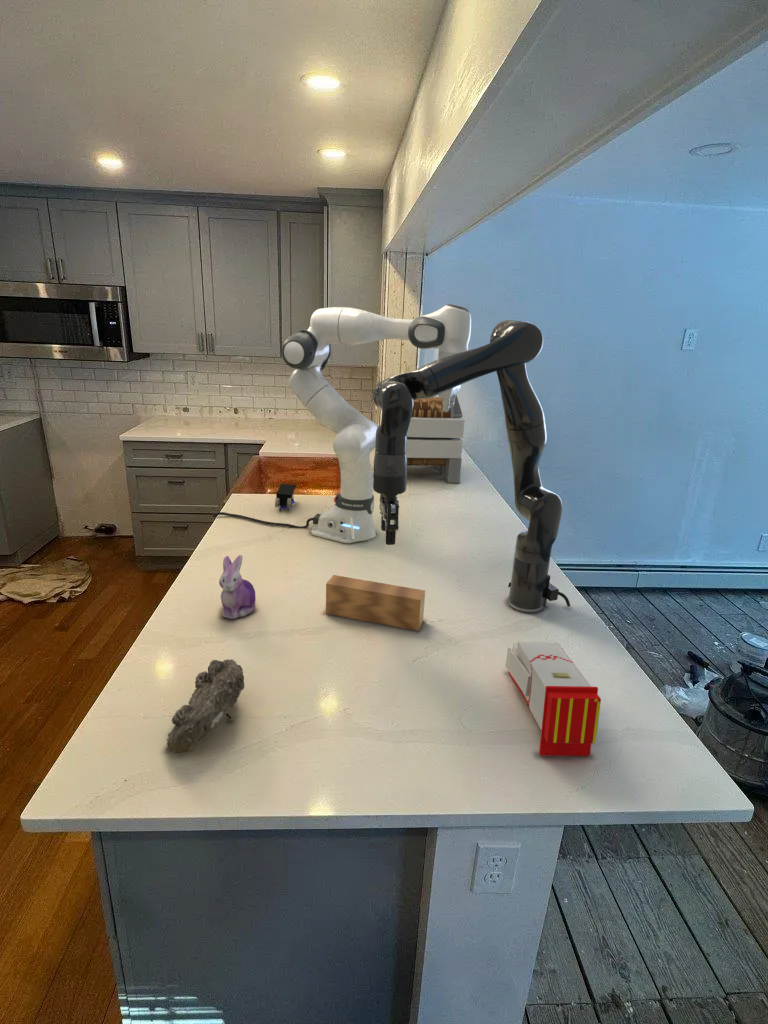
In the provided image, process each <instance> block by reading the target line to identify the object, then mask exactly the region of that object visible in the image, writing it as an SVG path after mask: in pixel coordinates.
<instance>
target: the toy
mask: <svg viewBox="0 0 768 1024" xmlns="http://www.w3.org/2000/svg"><path fill="white" fill-rule="evenodd" d="M511 646H512V647H508V648H507V653H506V658H505V659H506V660H505V668H506V669H507V671H508V675H509V676H510V677H511V679H512V681H513V682H514V684H515V686H516V688H517V689H518V691H519V693H520V694H521V696H522V698H523V700H524V702H525V703H526V705H527V706H528V708H529V710H530V712H531V715H532V716H533V718H534V720H535V722H536V723H537V724H536V725H537V726H538V727H539V730H540V731H541V733H540V739H539V740H540V741H539V749H538V751H539V752H538V754H539V756H543V757H548V756H550V757H551V756H552V757H553V756H554V757H568V756H569V757H591V751H592V744H596V743H597V734H598V726H599V717H600V710H601V702H602V698H601V697H600V696H599V694H598V693H599V688H598V686H592V684H590V682H589V681H588V680H587V678H586V677H585V676H584V675H583V673H582V672H581V671H580V669H579V668H578V667H577V665H576V664H575V663H574V661H573V660H572V659H571V658H570V656H569V655H568V654H567V652H566V651H565V649H564V647H562V645H561V644H560V643H559V642H553V641H551V642H549V641H548V642H547V641H546V642H545V641H517V642H512V645H511Z"/></svg>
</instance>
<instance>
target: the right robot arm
mask: <svg viewBox="0 0 768 1024" xmlns="http://www.w3.org/2000/svg"><path fill="white" fill-rule="evenodd" d="M543 345H544V336H543V332H542V331H541V328H539V327H538V326H537V325H536V324H534V323H532V322H529V321H526V320H513V319H506V320H501V321H500V322H498V323H497V324H496V325H495V326H494V327H493V329H492V331H491V334H490V337H489V343H487V344H484V345H482V346H479V347H476V348H472V349H468V351H464V352H460V353H456V354H452V355H449V356H446V357H443V358H440V359H438V358H437V359H436V360H433V361H430V362H429V363H427V364H424V365H422V366H420V367H418V368H416V369H413V370H410V371H405V372H401V373H398V374H395V375H391V376H389V377H387V378H384V379H382V380H381V381H379V382H378V383H377V384H376V385H375V387H374V389H373V390H372V401H373V403H374V405H375V406H376V407H377V408H378V409H379V410H380V411H381V421H380V425H378V428H377V430H376V437H375V448H374V457H373V471H372V472H373V492H375V493H376V494H379V514H380V516H381V517H380V530H381V531H382V532H385V538H384V539H385V540H384V541H385V545H386V546H394V545H396V536H397V531H398V530H399V527H400V526H399V515H400V514H399V513H400V512H399V511H400V510H399V509H400V502H399V500H398V495H402V494H404V493H405V492H406V491H407V478H408V477H407V475H408V473H407V472H408V466H407V431H408V428H409V425H410V420H411V416H412V411H413V401H414V400H416V399H428V398H432V397H438V396H439V394H441V393H443V392H446V391H448V390H450V389H452V388H454V387H457V386H459V385H461V386H462V385H464V384H466V383H468V382H470V381H474V380H476V379H478V378H480V377H483V376H485V375H489V374H492V373H495V372H496V377H497V380H498V385H499V389H500V396H501V402H502V403H501V404H502V408H503V415H504V422H505V429H506V436H507V441H508V446H509V452H510V460H511V466H512V474H513V493H514V505H515V509H516V512H517V513H518V514H519V515H520V516H521V517H522V518H523V519H525V520H527V521H528V522H529V523H528V528H527V530H525V531H521V532H519V533H518V534H517V536H516V539H515V548H514V555H513V562H512V572H511V577H510V578H511V579H510V581H509V582H508V588H509V593H508V598H507V604H508V605H509V606H510V607H511V608H512V609H514V610H516V611H518V612H521V613H538V612H541V611H542V610H543V608H547V603H548V601H549V602H552V601H558V599H559V598H558V597H559V596H560V597H561V598H562V599H563V600H564V601H565V604H566V606H567V607H568V608H570V607H571V603H570V600H569V598H568V596H566V594H565V593H563V592H561V591H560V589H559V588H558V587H557V586H555V585H554V584H553V583H551V582H550V581H551V575H550V574H549V569H550V568H549V567H550V561H551V555H552V550H553V545H554V543H555V541H556V540H557V537H558V533H559V528H560V525H561V524H560V523H561V519H562V514H563V502H562V499H561V497H560V495H558V494H557V493H555V492H553V491H551V490H549V489H547V488H545V487H544V486H543V484H542V480H541V474H540V461H541V458H542V456H543V453H544V450H545V448H546V445H547V439H548V438H547V427H546V419H545V413H544V410H543V407H542V405H541V402H540V401H539V398H538V396H537V394H536V393H535V391H534V389H533V387H532V384H531V383H530V382H531V381H530V380H529V377H528V372H527V366H526V364H528V363H530V362H532V361H533V360H535V359H536V358H537V357H538V356H539V354H540V353H541V351H542V349H543ZM391 521H393V524H391V523H392V522H391Z"/></svg>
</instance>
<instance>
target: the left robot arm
mask: <svg viewBox="0 0 768 1024" xmlns="http://www.w3.org/2000/svg"><path fill="white" fill-rule="evenodd" d="M471 332H472V315H471V312H470V311H469V310H468V308H466V307H464V306H460V305H456V304H451V303H448V304H445V305H444V306H442V307H440V308H439V309H437V310H435V311H433V312H430V313H427V314H424V315H420V316H417V317H416V318H414V319H412V318H411V319H410V318H396V317H395V318H394V317H388V316H384V315H380V314H377V313H374V312H371V311H367V310H364V309H360V308H356V307H348V306H329V307H323V308H318V309H316V310H315V311H313V312H312V314H311V317H310V321H309V327H308V329H305V328H302V329H299V330H298V331H297V332H295V333H293V334H291V335H290V336H288V337H287V338H286V339H285V340H284V341H283V343H282V346H281V350H280V351H281V352H280V353H281V357H282V360H283V362H284V363H285V364H286V365H287V366H288V367H290V368H292V369H294V370H293V371H292V373H291V374H290V376H289V380H288V383H289V387H290V389H291V390H292V392H293V393H294V395H295V396H296V398H297V399H298V400H299V402H300V403H301V404H302V405H303V406H304V407H305V408H306V410H307V411H308V412H309V413H310V414H311V415H312V416H313V417H314V418H315V419H316V421H317V422H318V423H319V424H320V425H321V426H323V427H325V428H328V429H329V430H331V431H332V432H334V434H336V435H335V437H334V439H333V441H332V449H333V452H334V454H335V455H336V457H337V462H338V466H339V473H340V490H339V491H338V492H337V494H336V495H335V496H334V497H333V502H334V504H333V505H331V506H329V507H328V508H326V509H325V510H323V512H321V513H316V514H315V515H314V516H313V517H309V518H307V520H306V521H305V523H306V524H305V525H303V526H299V525H294V524H290V523H283V522H282V523H281V522H273V521H267V520H263V519H257V518H254V517H251V516H246V515H241V514H236V513H229V512H224V511H220V512H216V513H214V514H213V515H212V518H217V517H218V516H227V517H234V518H239V519H243V520H248V521H252V522H256V523H260V524H264V525H270V526H276V527H277V526H278V527H288V528H293V529H307V528H309V526H310V522H311V521H312V525H313V526H312V528H311V530H310V533H311V536H315V537H319V538H323V539H326V540H330V541H336V542H339V543H343V544H352V543H357V542H365V541H368V540H372V539H373V538H375V537H376V535H377V532H376V528H375V523H374V513H373V512H374V509H375V496H374V490H373V472H374V471H373V470H372V466H371V460H370V454H371V452H372V451H373V450H375V437H376V430H377V428H378V426H379V425H378V424H377V423H376V422H375V421H373V420H371V419H369V418H367V417H366V416H365V415H364V414H363V413H362V412H360V411H359V410H357V409H356V408H355V407H353V406H352V405H351V404H350V403H348V402H347V401H346V400H345V399H344V398H343V396H341V395H340V393H339V392H338V391H337V390H336V389H335V388H334V387H333V386H332V384H330V382H328V380H327V379H326V378H325V377H324V375H323V374H322V372H321V371H322V370H324V369H325V367H326V366H327V363H328V361H329V359H330V358H331V355H332V352H333V345H334V344H335V345H344V346H345V345H346V346H357V345H365V344H370V343H374V342H378V341H383V340H400V341H401V340H403V341H404V340H405V341H409V342H410V343H411V345H413V346H414V347H415V348H418V349H420V350H429V349H438V354H437V355H438V357H437V360H438V359H440V358H443V357H446V356H449V355H452V354H456V353H460V352H464V351H468V350H469V342H470V340H471ZM461 386H462V384H461V385H459V386H457V387H454V388H452V389H450V390H448V391H446V392H443V393H441V394H439V395H438V397H441V398H442V403H443V412H448V411H449V407H453V406H454V402H455V398H456V395H457V393H458V392H460V390H461Z"/></svg>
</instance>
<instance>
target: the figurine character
mask: <svg viewBox="0 0 768 1024" xmlns="http://www.w3.org/2000/svg"><path fill="white" fill-rule="evenodd" d="M296 488H297V484H291V483H280V485H279V487H278V489H277V491H276V493H275V500H274V507H275V508H279V509H278V511H279V512H281V511H282V509H285V510H286V512H289V510H290V508H292V507H293V504H295V500H294V499H295V490H296Z"/></svg>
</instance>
